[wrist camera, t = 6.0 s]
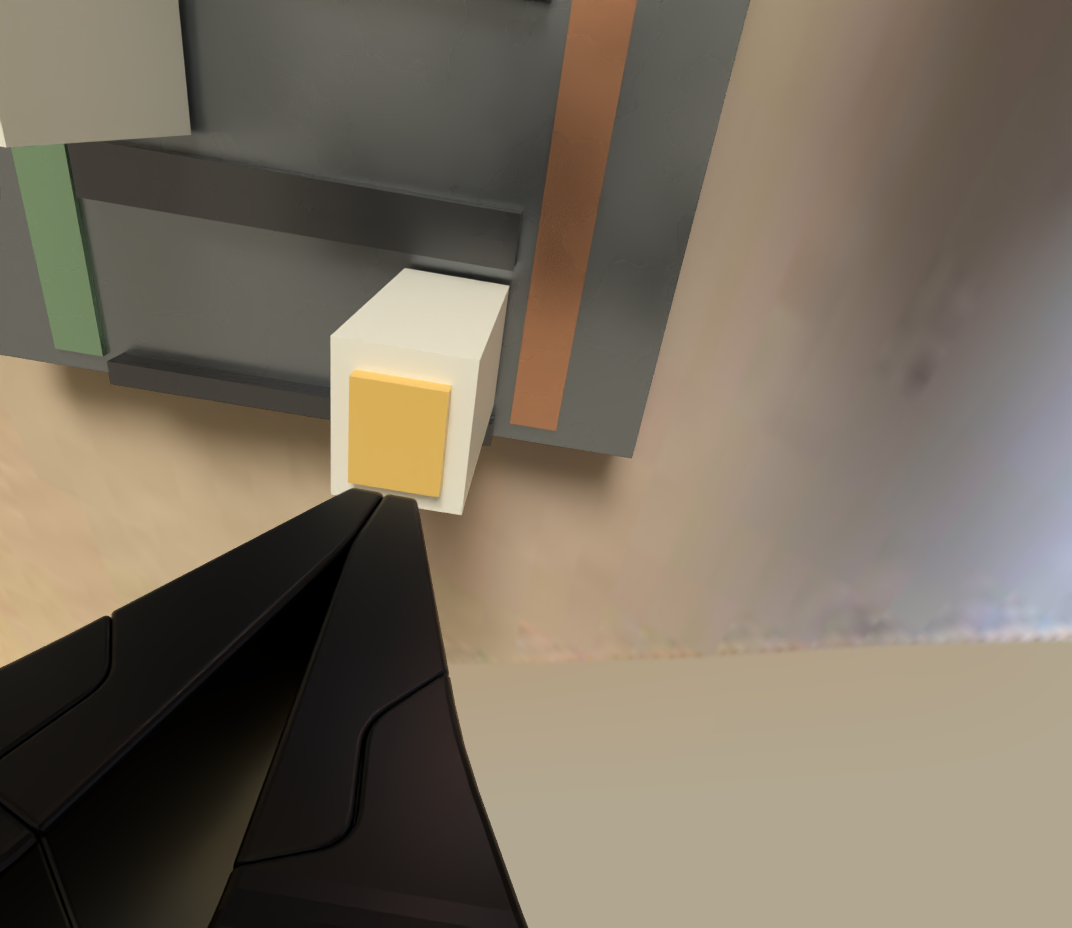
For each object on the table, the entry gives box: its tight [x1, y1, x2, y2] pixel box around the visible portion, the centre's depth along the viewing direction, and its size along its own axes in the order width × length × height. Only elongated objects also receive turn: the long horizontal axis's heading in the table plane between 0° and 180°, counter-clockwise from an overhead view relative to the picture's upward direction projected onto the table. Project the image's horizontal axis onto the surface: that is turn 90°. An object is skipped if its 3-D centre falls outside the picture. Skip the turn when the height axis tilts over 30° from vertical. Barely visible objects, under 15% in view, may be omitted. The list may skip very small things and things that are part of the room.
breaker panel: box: [0, 0, 750, 458], centre depth 14 cm, size 17×15×3 cm
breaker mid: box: [0, 0, 191, 147], centre depth 11 cm, size 2×3×5 cm
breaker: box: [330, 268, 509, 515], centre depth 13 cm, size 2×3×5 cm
